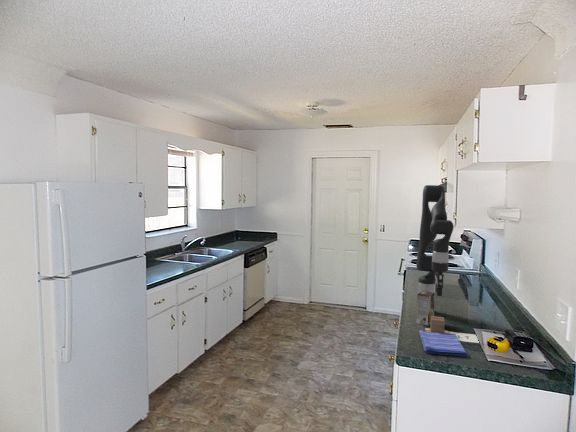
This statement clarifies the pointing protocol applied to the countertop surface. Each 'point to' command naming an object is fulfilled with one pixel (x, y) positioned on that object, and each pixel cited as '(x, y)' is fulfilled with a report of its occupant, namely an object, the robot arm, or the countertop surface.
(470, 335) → the tile
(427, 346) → the dish towel
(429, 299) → the coffee box
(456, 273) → the countertop surface
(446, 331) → the coaster
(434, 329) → the walnut block
